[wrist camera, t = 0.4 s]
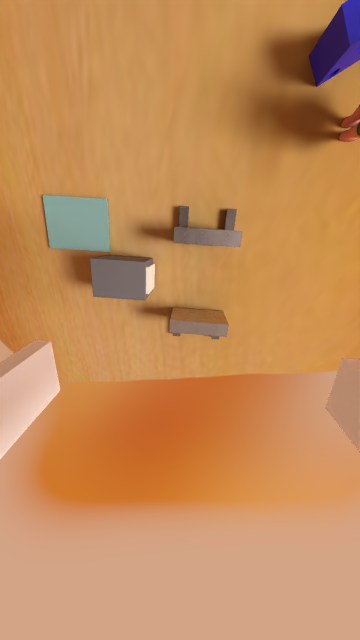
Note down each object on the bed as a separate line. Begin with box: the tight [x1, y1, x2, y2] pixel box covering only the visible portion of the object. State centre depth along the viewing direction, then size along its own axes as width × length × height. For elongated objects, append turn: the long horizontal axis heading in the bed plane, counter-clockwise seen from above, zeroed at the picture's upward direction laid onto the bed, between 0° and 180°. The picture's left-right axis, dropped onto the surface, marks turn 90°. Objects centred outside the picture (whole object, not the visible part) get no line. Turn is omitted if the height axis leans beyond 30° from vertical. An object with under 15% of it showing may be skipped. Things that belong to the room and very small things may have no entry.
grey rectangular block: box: [90, 255, 155, 301], centre depth 31 cm, size 5×7×6 cm
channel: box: [169, 206, 243, 339], centre depth 31 cm, size 19×8×6 cm, turn 177°
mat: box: [42, 195, 110, 252], centre depth 32 cm, size 7×9×1 cm
